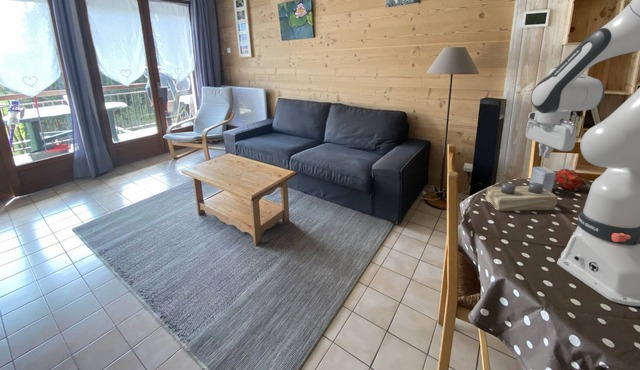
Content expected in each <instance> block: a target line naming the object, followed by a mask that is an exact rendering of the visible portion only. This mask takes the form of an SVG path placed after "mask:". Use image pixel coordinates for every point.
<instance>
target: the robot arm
mask: <svg viewBox="0 0 640 370" xmlns="http://www.w3.org/2000/svg"><path fill="white" fill-rule="evenodd" d="M638 51H640V0H631V1H629V3H628V4H627V5H626V6H625V7H624V8H623V10H622V11H620V12H619V13H618V14H617V15H616V16H615V17H614V18H612V19H611V20H609V22H608V23H606V24H604V25H603V26H602V27H601V28H598V29H596V30H595V31H593V32H592V33H591V34H590V35H588V36H587V37H586V38H585V39H584V40H583V41H581V43H579V44H578V46H577V47H575V48H574V50H572V51H571V53H569V55H568V56H567V57H566V58H565V59H564V60H563V61H562V62H561V63H560V64H559V65H558V66H556V67H553V68H551V69H550V70H549V72H548V74H547V76H546V77H544V78H543V79H542V80H540V82H538V83H537V84H536V85H535V87H534V88H533V90H532V91H531V93H530V94H531V95H530V102H531V104H532V107H533V108H534V109H535V111H531V112H529V113H528V116H527V119H528V120H527V122H526V128H525V138H526V139H528V140H530V141H534V142H535V143H538V149H539V153H538V156H539V157H542V158H543V159H549V158H550V156H551V153H552V152H553V151H554V150H555V149H556V150H558V151H560V152H561V151H562V152H570V151H572V150H573V149H575V144H576V138H577V127H576V124H575V123H574V121H572V120H571V121H570V118H571V113H572V112H583V111H589V110H593V109H595V108H596V107H598V106H599V105H600V103H601V102H602V101H603V99H604V96H605V85H604V83H603V82H602V81H601V80H600V79H599V78H595V77H592V76H589V75H587V74H585V72H586V71H587V70H588V69H590V68H591V67H593V66H594V65H596V64H597V63H600V62H603V61H605V60H608V59H611V58H613V57H618V56H623V55H625V54H629V53H634V52H638ZM579 145H580V147H579V148H580V153H581V155H582V157H583V158H584V159H585V161H586V162H588V163H589V164H591V165H593V166H596V167H601V168H606V170H604V172H603V173H602V174H601V175H600V176H598V177H597V178H595V179H594V180H593V182H592V184H591V186H590V188H589V192H588V195H587V198H586V201H585V204H584V206H583V207H584V208H582V209H581V211H580V212H579V214H578V217H577V221H576V223H577V227H576V229H575V230H574V231H573V233H572V234H571V236H570V239H569V240H568V243H567V245H566V247H565V249H563V250H562V251H561V253H560V257H559V258H558V260H557V262H556V264H557V265H558V266H559V267H561V268H562V269H563V270H565V271H566V272H568V273H569V274H571V275H572V276H574V277H576V278H577V280H580V281H581V282H582V283H584V284H585V285H587V286H588V287H590V288H591V289H593V290H594V291H596V292H597V293H599V295H601V296H603V297H604V298H606V299H608V300H609V301H611V302H614V303H616V304H617V303H618V304H621V305H626V306H632V307H640V87H639V88H638V89H637V90H635V92H634V93H633V94H632V95H630V96H629V98H627V99H626V100H625V101H624V102H623V103H622V104H621V105H619V107H618V108H616V109H615V110H614V111H613V112H612V113H610V115H608V116H607V117H605V119H603V120H602V121H600V122H599V123H596V124H595V125H593V126H592V127H590V128H589V129H588V130H587V131H586V132H584V134H583V136H582V137H581V139H580V144H579Z"/></svg>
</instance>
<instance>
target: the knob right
mask: <svg viewBox="0 0 640 370" xmlns="http://www.w3.org/2000/svg"><path fill="white" fill-rule="evenodd" d="M528 186H529V188H528V191H530V192H533V193H542V191H543V187H544V185H542V184H540V183H530V182H529V184H528Z"/></svg>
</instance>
